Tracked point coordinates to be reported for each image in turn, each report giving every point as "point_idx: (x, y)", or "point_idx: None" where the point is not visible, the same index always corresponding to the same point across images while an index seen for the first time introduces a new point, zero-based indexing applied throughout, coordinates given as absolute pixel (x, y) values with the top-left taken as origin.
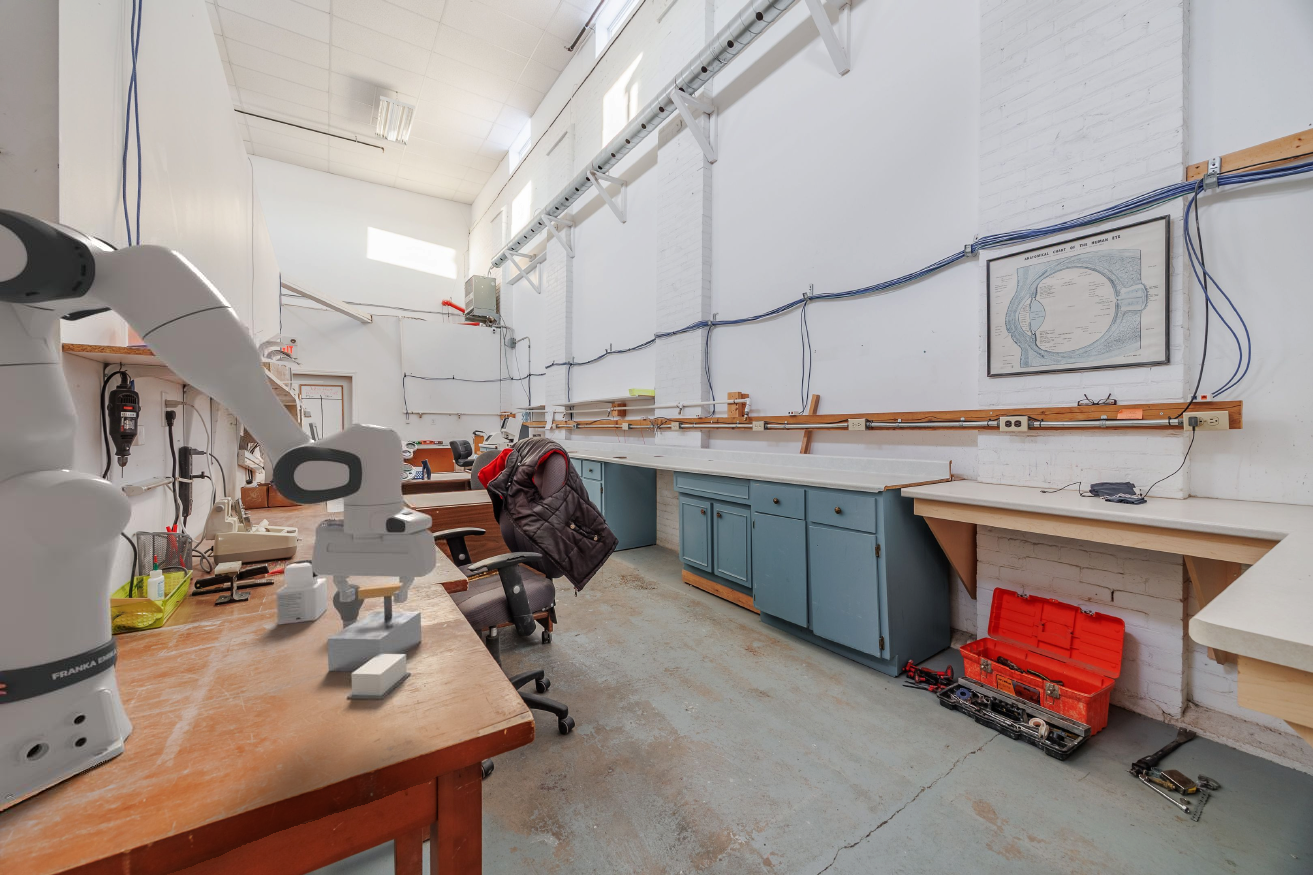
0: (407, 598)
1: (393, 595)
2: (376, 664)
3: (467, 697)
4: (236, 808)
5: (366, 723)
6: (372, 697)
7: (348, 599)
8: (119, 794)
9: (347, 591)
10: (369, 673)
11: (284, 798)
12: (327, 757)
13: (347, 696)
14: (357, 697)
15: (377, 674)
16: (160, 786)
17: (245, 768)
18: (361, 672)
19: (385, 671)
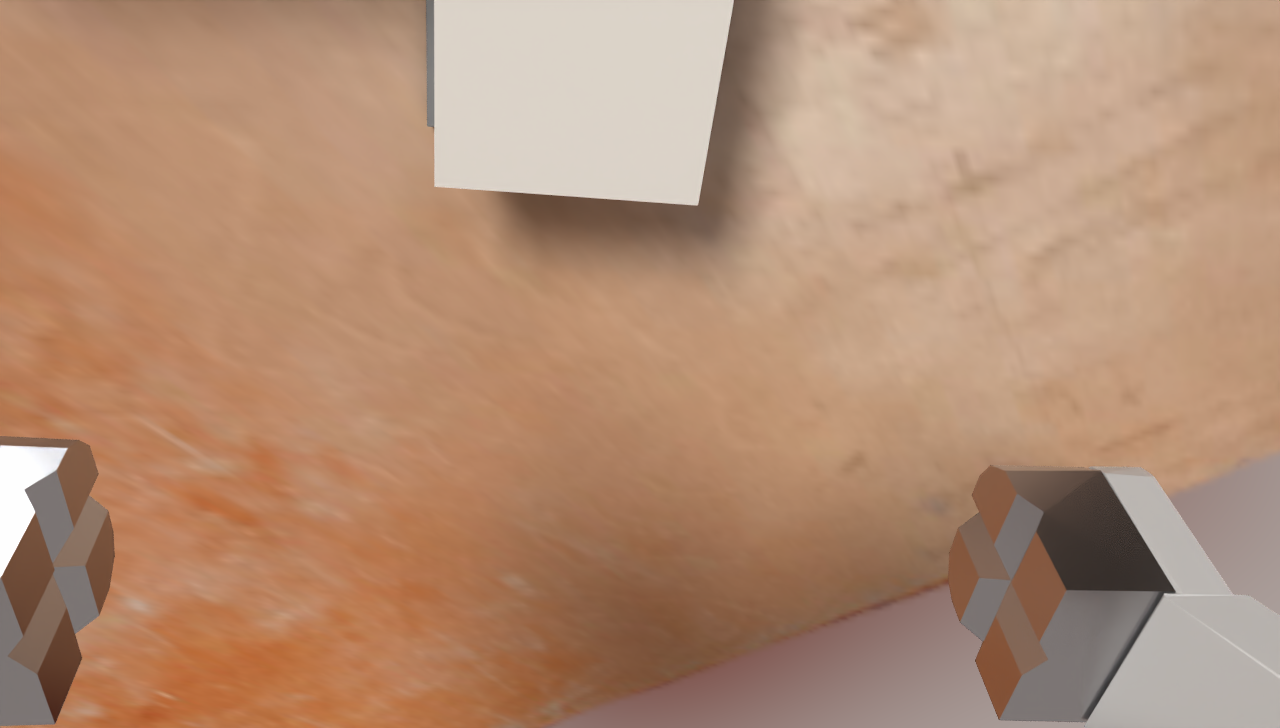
0: (1151, 475)
1: (989, 682)
2: (559, 30)
3: None
4: (536, 710)
5: (732, 359)
6: None
7: (102, 582)
8: None
9: (16, 705)
10: (595, 189)
11: (664, 683)
12: (685, 547)
13: (428, 121)
14: None
15: (672, 202)
16: (138, 657)
17: (380, 592)
18: (512, 170)
19: (706, 137)
